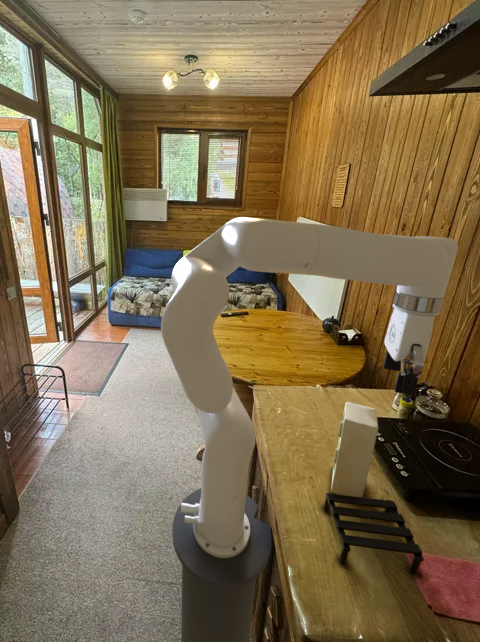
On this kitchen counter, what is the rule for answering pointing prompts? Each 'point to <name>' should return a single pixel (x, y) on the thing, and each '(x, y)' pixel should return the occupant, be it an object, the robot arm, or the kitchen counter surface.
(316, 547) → the kitchen counter surface
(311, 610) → the kitchen counter surface
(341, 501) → the rack
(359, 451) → the toy refrigerator
